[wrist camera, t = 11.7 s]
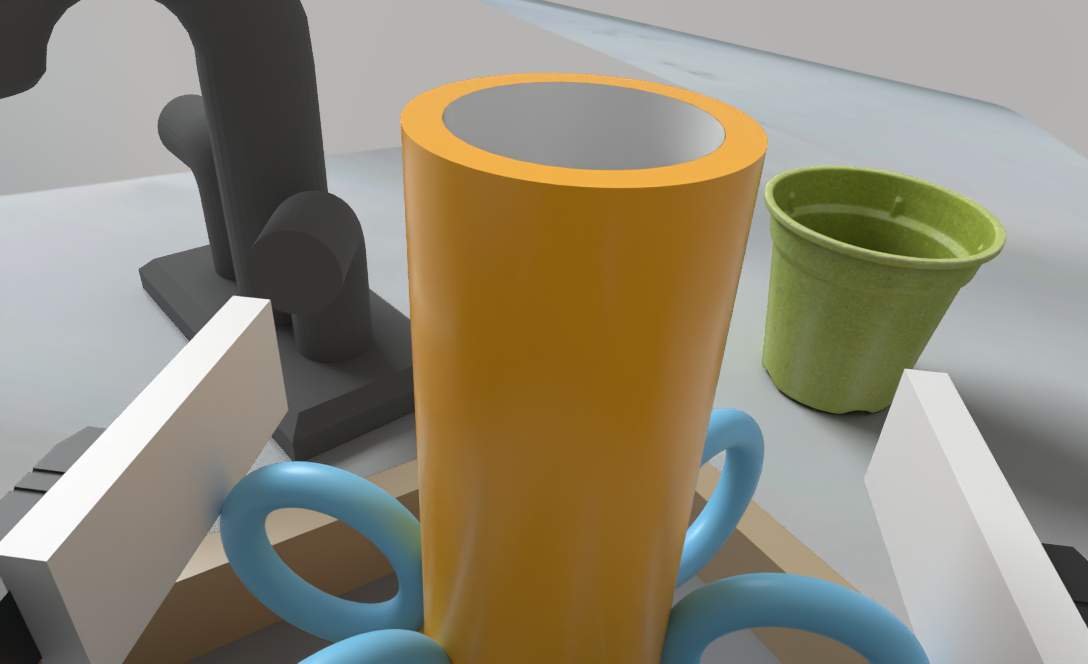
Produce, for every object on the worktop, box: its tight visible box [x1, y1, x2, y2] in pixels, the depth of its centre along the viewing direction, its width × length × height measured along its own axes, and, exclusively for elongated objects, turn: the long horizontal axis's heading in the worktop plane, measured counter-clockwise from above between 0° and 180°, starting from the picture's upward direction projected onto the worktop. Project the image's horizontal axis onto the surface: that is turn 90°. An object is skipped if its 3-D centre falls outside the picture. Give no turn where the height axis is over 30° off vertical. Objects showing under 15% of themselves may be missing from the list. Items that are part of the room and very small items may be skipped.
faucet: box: [0, 0, 415, 462], centre depth 30 cm, size 18×16×20 cm
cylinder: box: [220, 73, 930, 664], centre depth 13 cm, size 12×10×15 cm
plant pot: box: [762, 166, 1006, 414], centre depth 34 cm, size 9×9×9 cm
